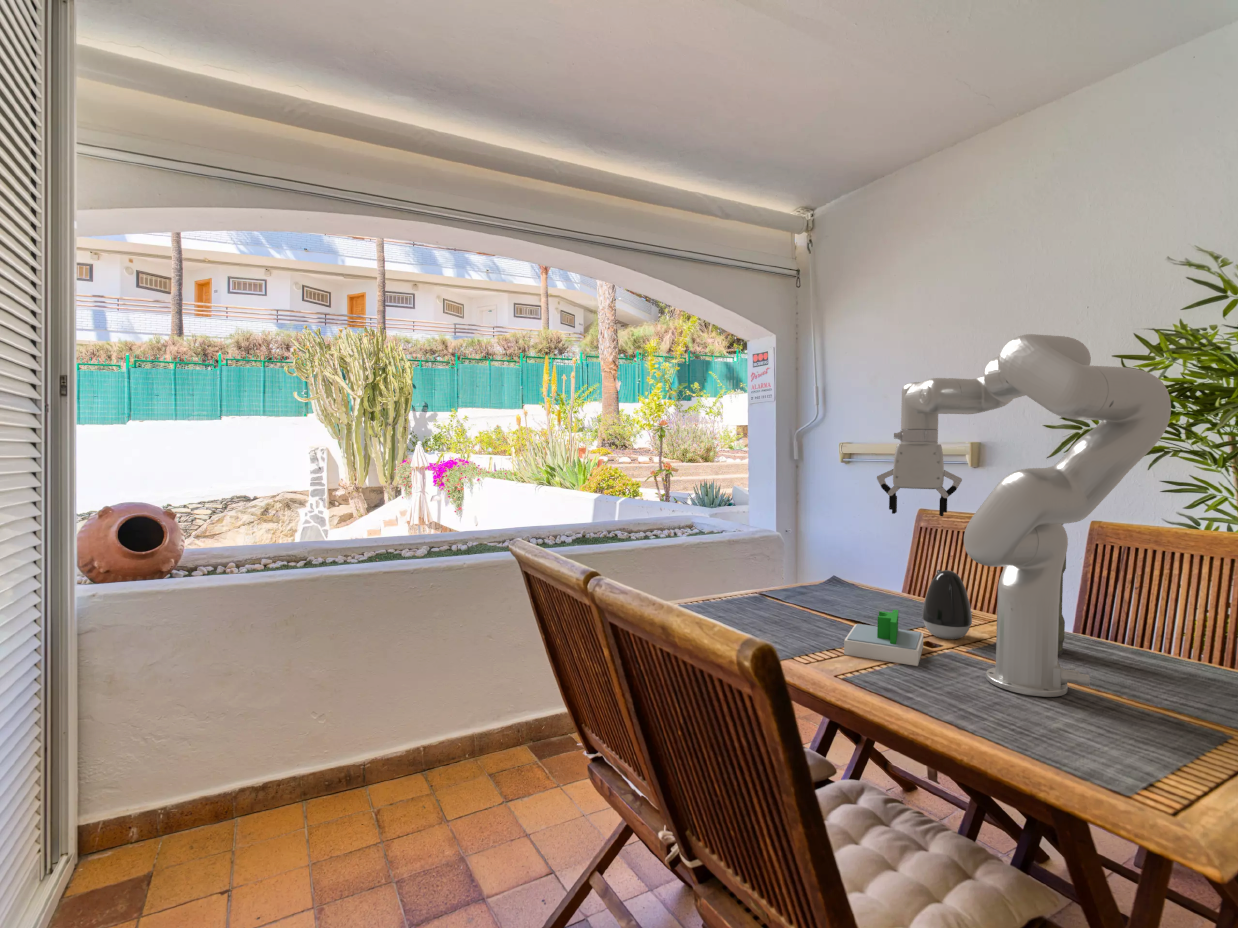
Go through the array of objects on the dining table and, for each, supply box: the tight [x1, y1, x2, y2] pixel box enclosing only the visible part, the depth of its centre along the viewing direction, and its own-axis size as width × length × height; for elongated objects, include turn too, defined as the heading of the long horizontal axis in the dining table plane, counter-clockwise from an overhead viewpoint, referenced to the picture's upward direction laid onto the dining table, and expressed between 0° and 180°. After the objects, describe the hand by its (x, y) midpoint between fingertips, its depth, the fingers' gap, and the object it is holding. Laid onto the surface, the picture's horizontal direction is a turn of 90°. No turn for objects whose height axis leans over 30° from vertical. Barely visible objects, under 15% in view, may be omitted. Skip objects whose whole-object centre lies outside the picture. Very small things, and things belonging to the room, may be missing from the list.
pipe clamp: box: [876, 609, 899, 644], centre depth 136 cm, size 11×4×5 cm, turn 155°
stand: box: [843, 623, 924, 667], centre depth 137 cm, size 14×14×3 cm
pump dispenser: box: [921, 569, 973, 640], centre depth 148 cm, size 10×10×15 cm
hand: (917, 514), depth 144 cm, fingers open, 9 cm apart
